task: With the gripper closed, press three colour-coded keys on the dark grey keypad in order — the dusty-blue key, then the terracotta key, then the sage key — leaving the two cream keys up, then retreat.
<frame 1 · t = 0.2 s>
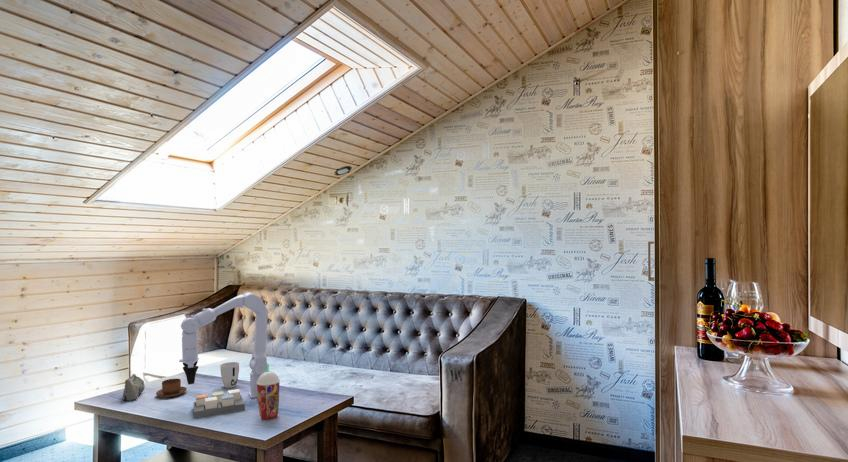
hand: (190, 381, 206), 10 cm above the table, fingers open, 7 cm apart
cream key 1: (211, 403, 198), point 4 cm above the table, slide at 0.0 cm
cup: (230, 386, 232), on the table
cream key 2: (234, 395, 207), point 4 cm above the table, slide at 0.0 cm
keypad board: (218, 409, 202), on the table
smoothie: (269, 418, 191), on the table
terracotta key: (201, 400, 202), point 4 cm above the table, slide at 0.0 cm
sage key: (218, 397, 204), point 4 cm above the table, slide at 0.0 cm
mineral rock: (135, 396, 221), on the table
blue key: (227, 401, 200), point 4 cm above the table, slide at 0.0 cm
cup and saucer: (171, 395, 222), on the table
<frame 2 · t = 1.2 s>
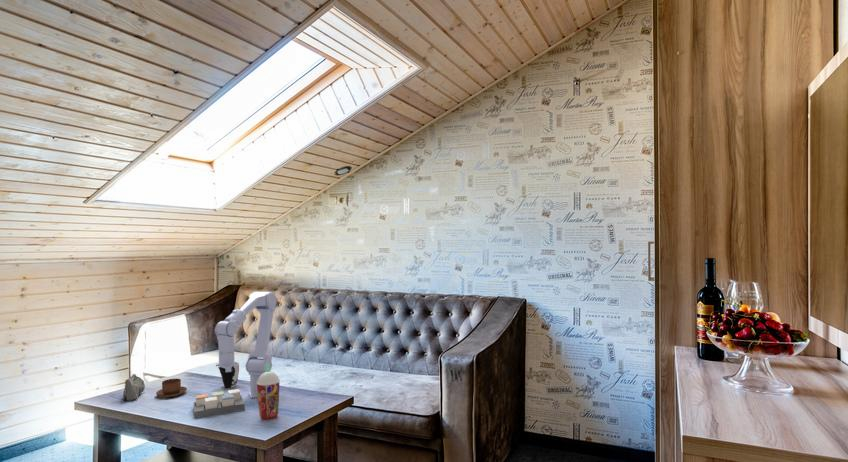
hand: (227, 386, 200), 9 cm above the table, fingers open, 5 cm apart
nothing on the table moved.
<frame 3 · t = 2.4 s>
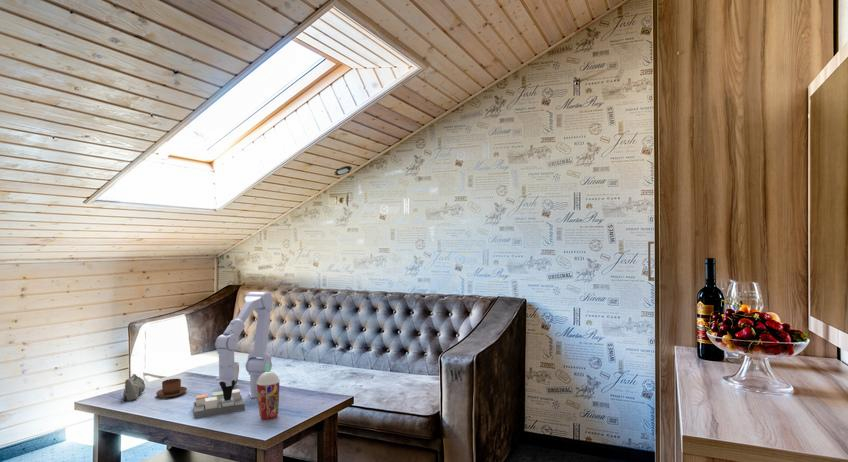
hand: (227, 399, 200), 4 cm above the table, fingers closed, pressing on blue key
blue key: (227, 404, 200), point 2 cm above the table, slide at 1.3 cm, touching gripper
everything else where it was.
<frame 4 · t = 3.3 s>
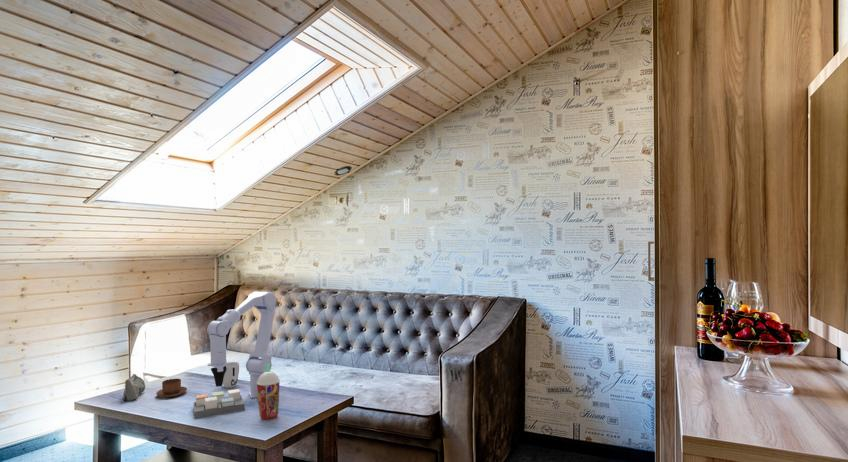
hand: (219, 386, 201), 9 cm above the table, fingers closed
blue key: (227, 404, 200), point 2 cm above the table, slide at 1.3 cm
everything else where it was.
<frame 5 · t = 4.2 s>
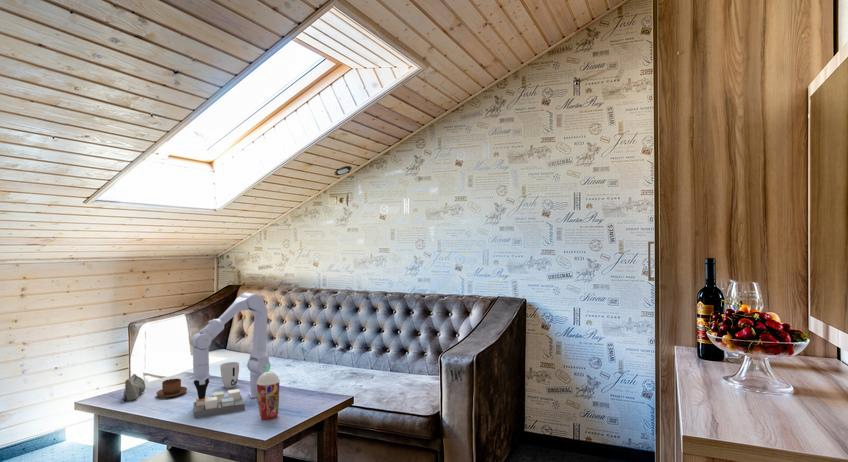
hand: (201, 398, 202), 4 cm above the table, fingers closed, pressing on terracotta key
terracotta key: (202, 402, 202), point 3 cm above the table, slide at 0.9 cm, touching gripper
everything else where it was.
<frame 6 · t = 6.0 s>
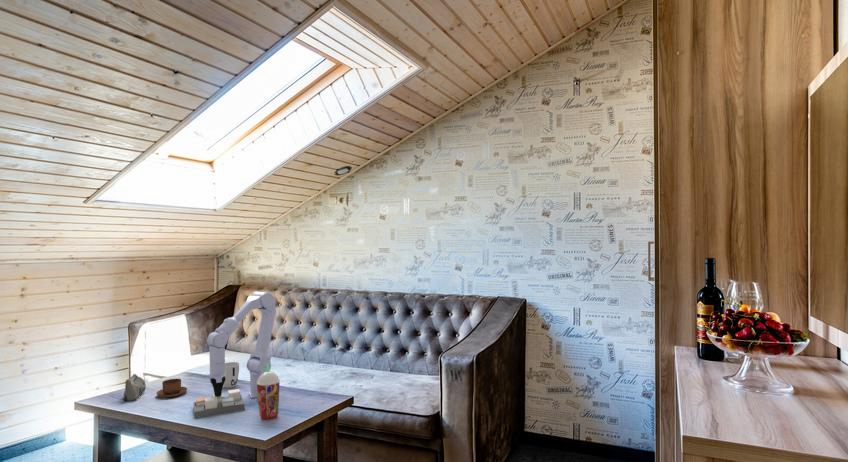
hand: (218, 396, 204), 4 cm above the table, fingers closed, pressing on sage key
terracotta key: (202, 403, 202), point 2 cm above the table, slide at 1.3 cm
sage key: (218, 400, 204), point 3 cm above the table, slide at 1.1 cm, touching gripper
everything else where it was.
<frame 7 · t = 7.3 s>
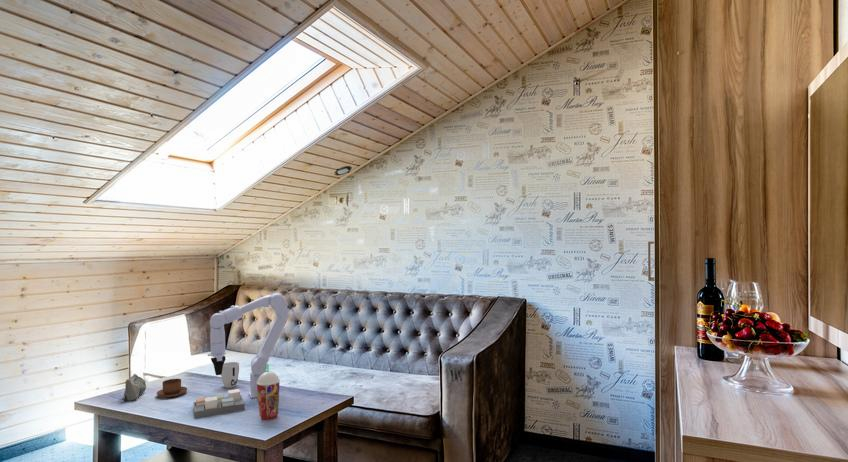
hand: (218, 374, 214), 10 cm above the table, fingers closed
sage key: (218, 401, 204), point 2 cm above the table, slide at 1.3 cm
everything else where it was.
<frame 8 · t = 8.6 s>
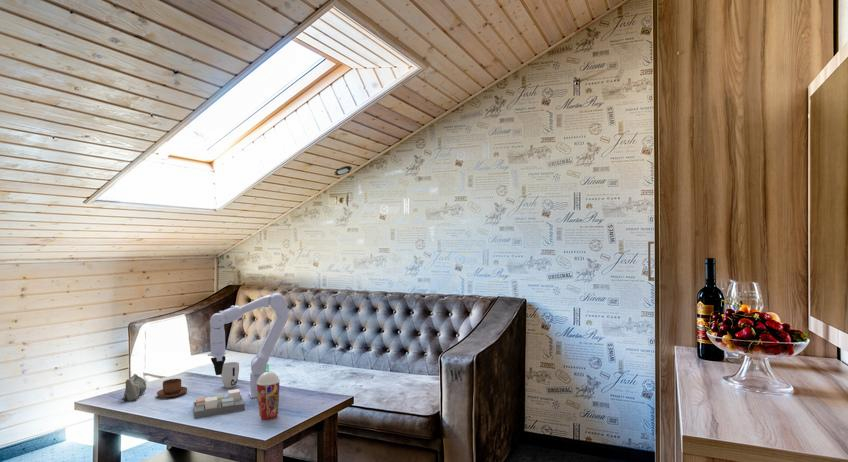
hand: (218, 374, 214), 10 cm above the table, fingers closed
nothing on the table moved.
at the end: blue key slide at 1.3 cm; terracotta key slide at 1.3 cm; sage key slide at 1.3 cm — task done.
